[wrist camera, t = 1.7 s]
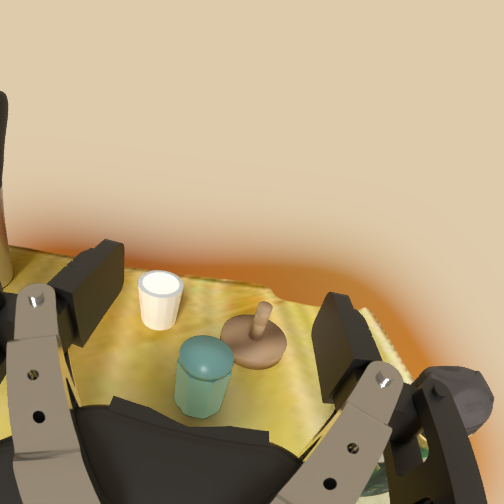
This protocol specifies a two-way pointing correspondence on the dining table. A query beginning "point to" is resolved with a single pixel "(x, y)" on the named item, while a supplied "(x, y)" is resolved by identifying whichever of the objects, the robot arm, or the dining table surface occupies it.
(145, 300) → the white cup
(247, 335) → the post
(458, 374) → the coffee jar
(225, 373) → the teal lidded canister
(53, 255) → the dining table surface
